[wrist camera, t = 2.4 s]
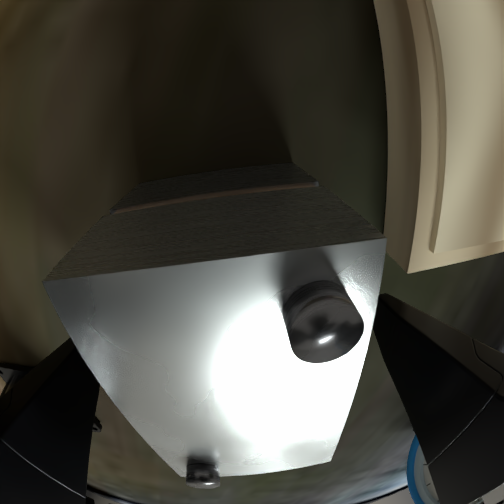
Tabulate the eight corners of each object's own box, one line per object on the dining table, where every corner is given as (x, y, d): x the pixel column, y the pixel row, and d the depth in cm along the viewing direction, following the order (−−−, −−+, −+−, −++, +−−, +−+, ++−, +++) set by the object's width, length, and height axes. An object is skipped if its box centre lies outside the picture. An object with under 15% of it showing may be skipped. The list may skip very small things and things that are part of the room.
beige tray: (381, 247, 10) (411, 278, 8) (356, -62, 5) (381, -87, 2) (514, 227, 11) (541, 244, 9) (510, 10, 5) (538, 8, 3)
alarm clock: (475, 357, 16) (553, 491, 3) (502, 354, 17) (569, 461, 4) (389, 445, 21) (428, 557, 8) (425, 435, 23) (465, 531, 9)
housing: (188, 356, 12) (180, 491, 7) (140, 182, 9) (23, 304, 3) (297, 343, 13) (334, 475, 7) (292, 161, 9) (409, 259, 3)
